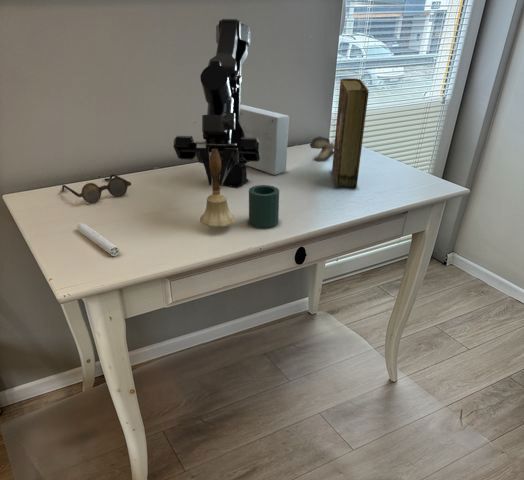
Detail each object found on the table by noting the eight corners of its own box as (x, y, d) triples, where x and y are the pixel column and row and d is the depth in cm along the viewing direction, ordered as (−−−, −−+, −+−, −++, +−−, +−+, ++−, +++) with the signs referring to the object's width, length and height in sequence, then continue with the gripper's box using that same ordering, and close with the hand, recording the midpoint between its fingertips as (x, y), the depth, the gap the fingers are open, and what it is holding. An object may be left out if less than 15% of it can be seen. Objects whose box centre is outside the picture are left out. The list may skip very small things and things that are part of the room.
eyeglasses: (81, 206, 127) (76, 187, 124) (58, 190, 136) (54, 172, 133) (132, 194, 134) (130, 175, 131) (108, 179, 143) (105, 161, 140)
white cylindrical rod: (74, 230, 115) (72, 220, 114) (83, 227, 116) (81, 218, 115) (111, 257, 105) (109, 247, 103) (120, 254, 106) (118, 244, 104)
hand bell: (193, 217, 116) (188, 147, 106) (223, 210, 120) (221, 141, 110) (211, 230, 111) (207, 157, 101) (242, 222, 115) (241, 151, 105)
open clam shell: (316, 147, 166) (304, 149, 159) (330, 130, 162) (317, 130, 155) (331, 164, 165) (319, 166, 158) (345, 147, 161) (334, 148, 154)
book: (331, 170, 151) (340, 78, 136) (349, 170, 151) (360, 78, 136) (336, 189, 138) (346, 89, 123) (356, 189, 138) (369, 90, 123)
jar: (243, 224, 119) (243, 192, 114) (258, 215, 123) (258, 183, 118) (269, 231, 116) (269, 197, 111) (283, 220, 121) (284, 188, 116)
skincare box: (287, 172, 150) (290, 115, 140) (274, 175, 147) (276, 118, 137) (241, 156, 162) (240, 103, 152) (228, 159, 159) (227, 105, 149)
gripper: (170, 95, 103) (164, 166, 102) (259, 97, 102) (255, 168, 101) (181, 125, 114) (176, 189, 113) (261, 127, 114) (257, 192, 112)
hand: (215, 185), depth 109 cm, fingers closed on hand bell
